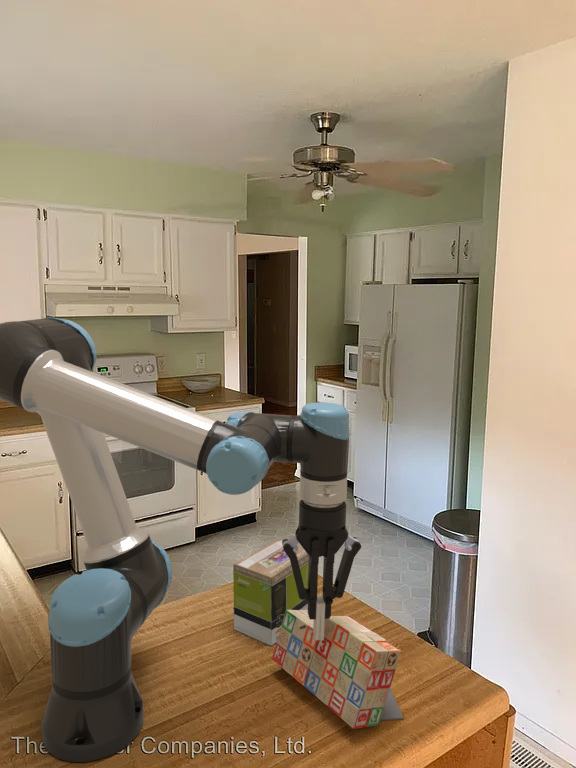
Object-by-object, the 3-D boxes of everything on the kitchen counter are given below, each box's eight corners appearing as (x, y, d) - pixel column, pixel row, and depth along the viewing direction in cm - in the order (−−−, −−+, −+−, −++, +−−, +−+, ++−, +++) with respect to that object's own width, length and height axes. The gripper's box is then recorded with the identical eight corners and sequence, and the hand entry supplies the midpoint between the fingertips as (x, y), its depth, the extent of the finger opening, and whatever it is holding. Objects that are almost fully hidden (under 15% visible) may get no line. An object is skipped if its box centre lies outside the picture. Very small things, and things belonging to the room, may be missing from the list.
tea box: (276, 600, 133) (277, 536, 131) (314, 615, 127) (316, 549, 125) (231, 630, 121) (232, 561, 119) (271, 648, 115) (272, 576, 113)
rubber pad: (360, 722, 96) (360, 720, 96) (345, 674, 108) (345, 672, 108) (403, 719, 97) (403, 717, 97) (383, 672, 109) (383, 670, 109)
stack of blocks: (270, 659, 108) (290, 592, 108) (295, 658, 112) (314, 594, 112) (354, 729, 91) (377, 650, 92) (380, 725, 95) (402, 649, 96)
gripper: (285, 509, 91) (282, 650, 95) (368, 507, 93) (361, 647, 97) (280, 492, 99) (277, 624, 103) (357, 491, 100) (351, 621, 104)
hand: (318, 635), depth 100 cm, fingers closed
